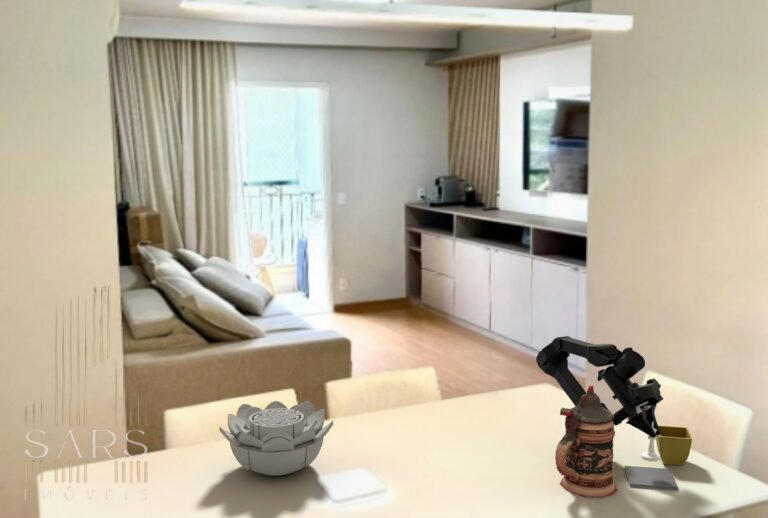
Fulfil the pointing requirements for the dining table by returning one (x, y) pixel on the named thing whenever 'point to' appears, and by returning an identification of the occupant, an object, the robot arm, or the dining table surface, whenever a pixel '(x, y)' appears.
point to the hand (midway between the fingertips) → (657, 436)
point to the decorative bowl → (276, 437)
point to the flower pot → (674, 444)
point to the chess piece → (651, 450)
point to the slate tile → (650, 477)
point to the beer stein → (587, 448)
